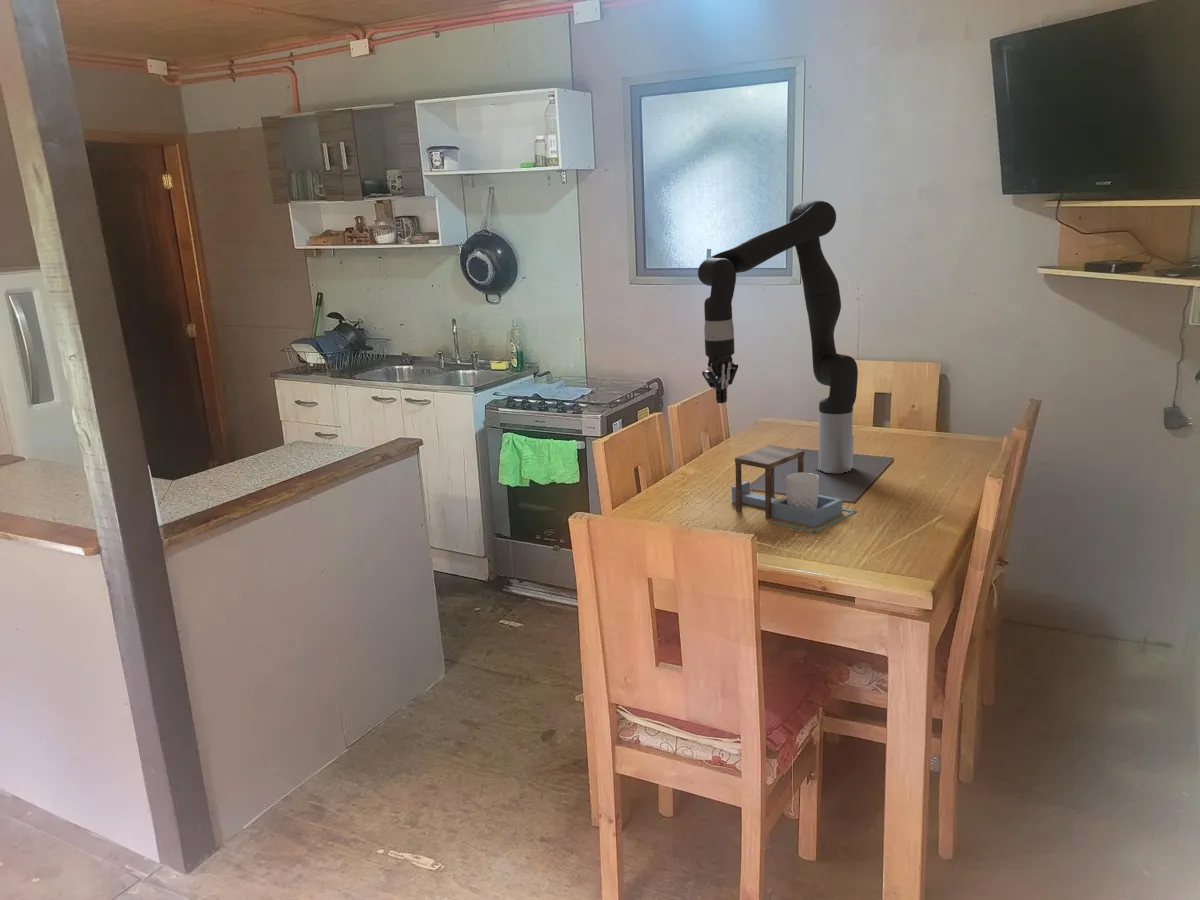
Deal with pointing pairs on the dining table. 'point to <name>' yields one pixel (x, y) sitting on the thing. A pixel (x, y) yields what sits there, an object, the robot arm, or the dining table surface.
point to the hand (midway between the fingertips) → (721, 402)
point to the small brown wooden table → (766, 469)
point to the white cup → (802, 490)
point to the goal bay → (822, 526)
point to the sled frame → (793, 507)
